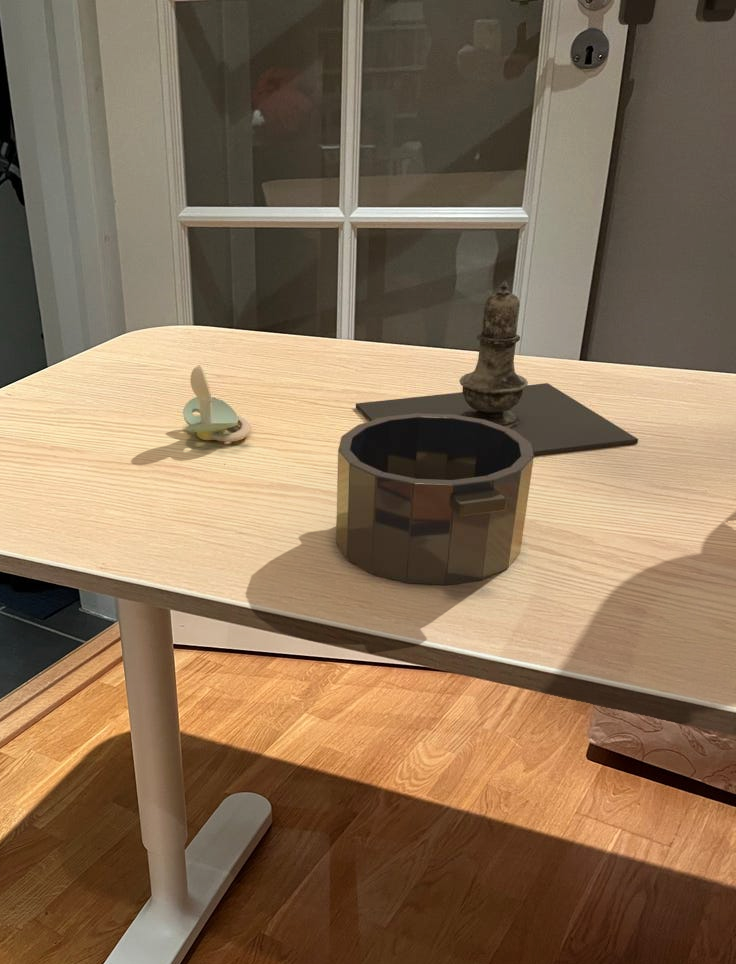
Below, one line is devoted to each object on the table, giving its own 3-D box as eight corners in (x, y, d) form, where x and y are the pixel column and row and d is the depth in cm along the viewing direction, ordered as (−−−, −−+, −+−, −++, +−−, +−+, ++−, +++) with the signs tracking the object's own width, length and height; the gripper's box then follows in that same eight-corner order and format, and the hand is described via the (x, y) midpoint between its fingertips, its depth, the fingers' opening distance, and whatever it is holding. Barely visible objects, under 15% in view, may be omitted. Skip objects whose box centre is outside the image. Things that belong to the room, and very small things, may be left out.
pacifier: (245, 419, 88) (182, 421, 87) (245, 352, 84) (179, 354, 84) (256, 447, 82) (187, 450, 81) (256, 376, 78) (185, 379, 78)
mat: (547, 386, 93) (547, 382, 93) (637, 443, 80) (638, 438, 80) (355, 407, 89) (355, 403, 89) (417, 470, 76) (417, 465, 76)
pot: (464, 486, 73) (473, 399, 69) (563, 580, 60) (581, 480, 57) (310, 506, 71) (310, 417, 67) (379, 607, 58) (384, 504, 54)
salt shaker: (456, 407, 87) (469, 272, 81) (521, 410, 86) (539, 273, 80) (455, 430, 83) (468, 288, 76) (523, 433, 81) (542, 289, 75)
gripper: (896, -376, 46) (800, 19, 55) (713, -291, 58) (659, 23, 66) (762, -383, 45) (686, 23, 53) (603, -295, 56) (562, 26, 65)
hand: (671, 23), depth 60 cm, fingers open, 8 cm apart
